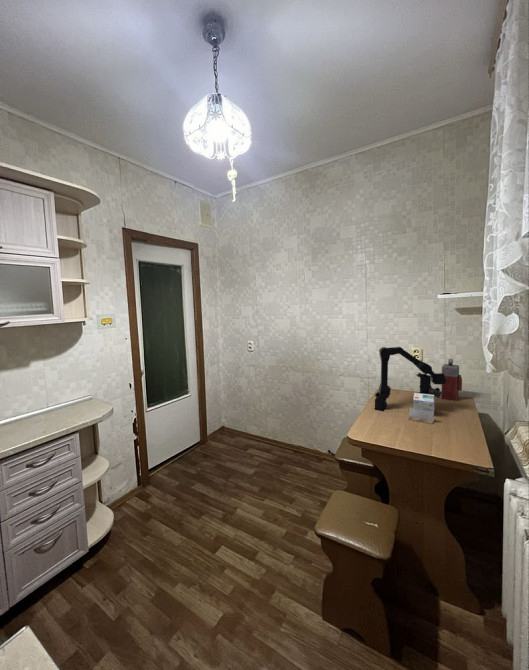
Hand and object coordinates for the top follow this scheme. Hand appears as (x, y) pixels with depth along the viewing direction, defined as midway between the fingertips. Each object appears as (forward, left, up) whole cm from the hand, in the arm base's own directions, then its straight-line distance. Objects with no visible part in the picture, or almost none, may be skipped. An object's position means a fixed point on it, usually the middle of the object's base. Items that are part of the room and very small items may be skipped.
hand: (424, 408), depth 174 cm
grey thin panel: (0, -18, -1) cm, 18 cm away
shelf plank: (0, -20, -1) cm, 20 cm away
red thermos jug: (+13, +33, -1) cm, 36 cm away
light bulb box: (0, -5, 0) cm, 5 cm away
